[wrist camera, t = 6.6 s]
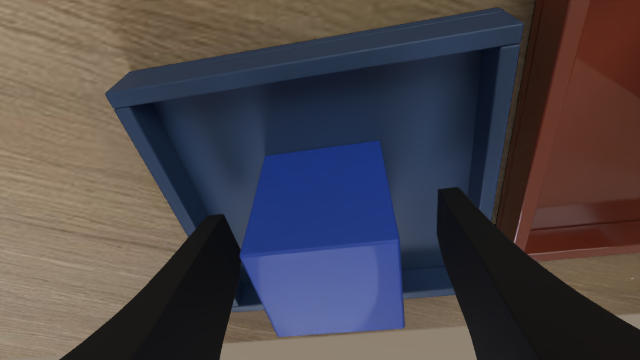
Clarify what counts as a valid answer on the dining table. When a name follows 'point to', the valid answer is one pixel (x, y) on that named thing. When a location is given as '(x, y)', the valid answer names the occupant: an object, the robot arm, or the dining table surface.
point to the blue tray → (335, 124)
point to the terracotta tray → (577, 134)
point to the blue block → (325, 242)
